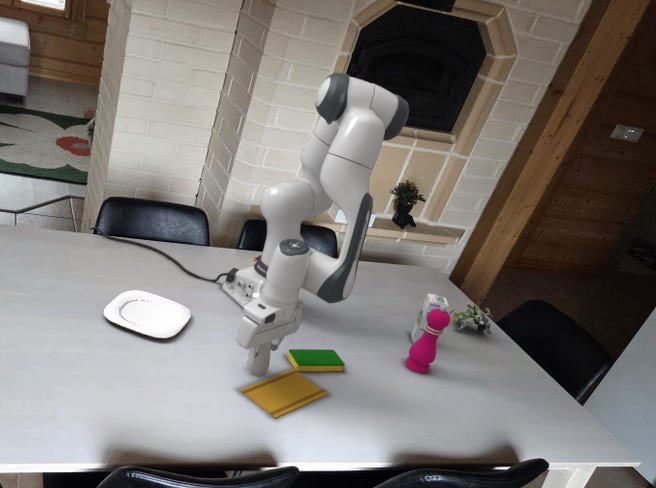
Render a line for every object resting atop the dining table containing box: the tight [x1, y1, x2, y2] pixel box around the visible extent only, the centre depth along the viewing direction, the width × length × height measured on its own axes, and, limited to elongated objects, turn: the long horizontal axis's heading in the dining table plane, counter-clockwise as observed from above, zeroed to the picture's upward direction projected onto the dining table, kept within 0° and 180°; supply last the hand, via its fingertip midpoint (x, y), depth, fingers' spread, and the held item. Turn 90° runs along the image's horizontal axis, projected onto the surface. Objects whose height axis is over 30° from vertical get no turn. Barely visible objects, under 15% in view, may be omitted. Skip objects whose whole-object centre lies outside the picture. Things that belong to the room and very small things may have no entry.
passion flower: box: [449, 301, 493, 336], centre depth 205 cm, size 11×11×12 cm
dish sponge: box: [286, 348, 346, 372], centre depth 173 cm, size 7×14×2 cm, turn 105°
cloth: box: [239, 368, 328, 419], centre depth 160 cm, size 12×20×1 cm, turn 130°
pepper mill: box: [405, 305, 451, 374], centre depth 177 cm, size 7×7×20 cm
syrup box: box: [410, 292, 450, 344], centre depth 192 cm, size 6×6×14 cm
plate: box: [103, 289, 192, 340], centre depth 178 cm, size 22×22×2 cm
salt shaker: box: [246, 335, 275, 377], centre depth 162 cm, size 6×6×13 cm
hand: (262, 353), depth 163 cm, fingers open, 6 cm apart
